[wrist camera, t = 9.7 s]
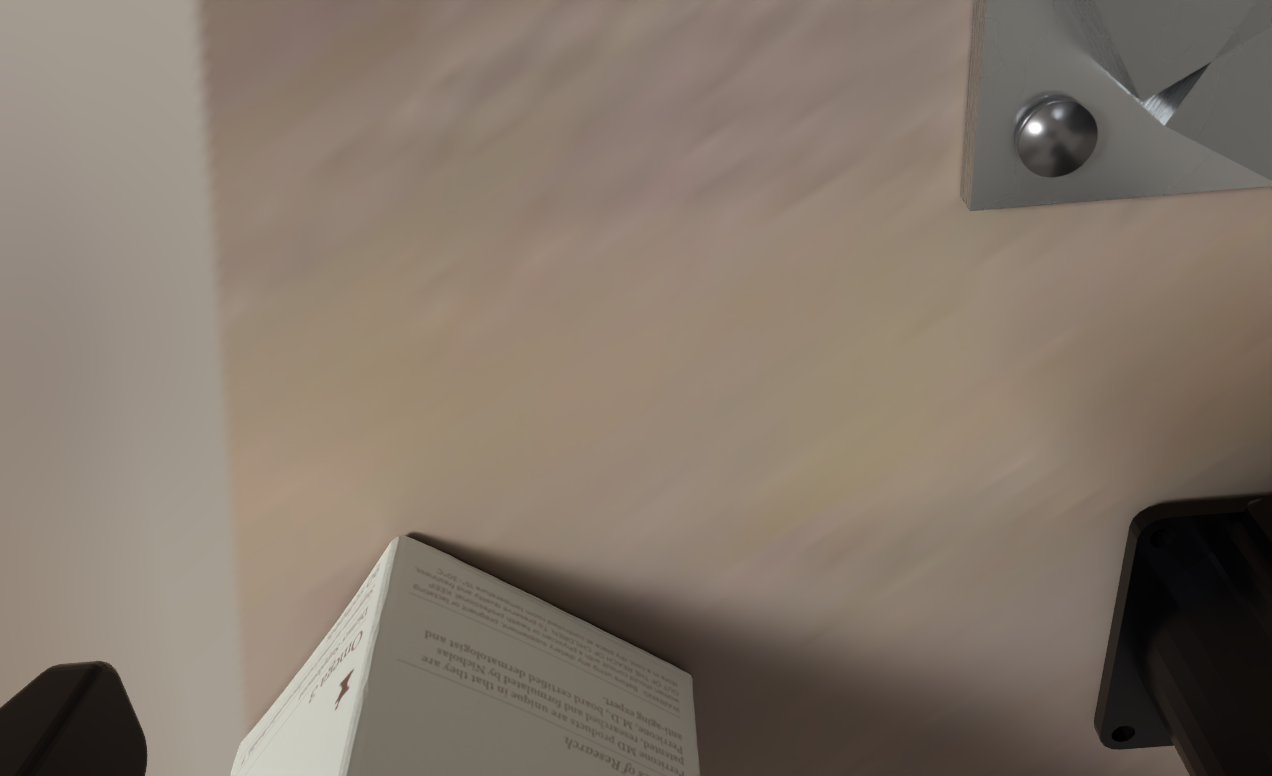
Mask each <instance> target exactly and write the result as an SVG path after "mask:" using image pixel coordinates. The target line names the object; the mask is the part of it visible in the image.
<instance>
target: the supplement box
mask: <svg viewBox="0 0 1272 776" xmlns="http://www.w3.org/2000/svg"><path fill="white" fill-rule="evenodd" d="M230 776H700V766H699V756H698V744H697V732H696V721H695V709H694V698H693V679H692V677H691V675H690V674H688V673H687V672H685V671H682V670H681V669H679V668H677V667H675V666H674V665H672V664H670V663H668V662H665V661H663V660H661V659H659V658H657V657H655V656H653V655H652V654H650V653H648V652H646V651H644V650H642V649H640V648H637V647H635V646H633V645H631V644H630V643H628V642H625V641H623V640H621V639H619V638H617V637H615V636H613V635H611V634H609V633H607V632H604V631H603V630H601V629H599V628H597V627H595V626H593V625H591V624H589V623H587V622H585V621H583V620H581V619H579V618H577V617H575V616H572V615H570V614H568V613H566V612H564V611H562V610H560V609H558V608H556V607H554V606H552V605H550V604H549V603H547V602H545V601H543V600H541V599H539V598H537V597H535V596H533V595H531V594H528V593H526V592H524V591H522V590H520V589H518V588H516V587H514V586H511V585H509V584H507V583H505V582H503V581H501V580H499V579H497V578H495V577H493V576H491V575H489V574H487V573H485V572H483V571H481V570H479V569H477V568H474V567H472V566H470V565H468V564H466V563H464V562H462V561H460V560H458V559H456V558H454V557H453V556H451V555H449V554H446V553H444V552H441V551H439V550H437V549H436V548H434V547H431V546H429V545H426V544H424V543H421V542H419V541H417V540H415V539H412V538H410V537H407V536H398V537H396V538H395V539H393V540H392V541H391V543H390V544H389V546H388V547H387V549H386V550H385V552H384V553H383V555H382V556H381V558H380V559H379V561H378V562H377V564H376V565H375V567H374V568H373V570H372V571H371V573H370V575H369V576H368V577H367V579H366V580H365V582H364V583H363V585H362V586H361V588H360V589H359V591H358V592H357V594H356V595H355V597H354V598H353V599H352V601H351V602H350V604H349V605H348V607H347V608H346V609H345V611H344V612H343V614H342V615H341V616H340V618H339V619H338V621H337V622H336V623H335V625H334V626H333V627H332V629H331V630H330V631H329V633H328V634H327V635H326V637H325V638H324V639H323V641H322V642H321V643H320V645H319V646H318V647H317V649H316V650H315V651H314V653H313V654H312V655H311V657H310V658H309V659H308V661H307V662H306V663H305V665H304V666H303V667H302V668H301V670H300V671H299V672H298V673H297V674H296V676H295V677H294V678H293V680H292V681H291V682H290V684H289V685H288V686H287V688H286V689H285V690H284V691H283V693H282V694H281V695H280V696H279V698H278V699H277V700H276V701H275V703H274V704H273V705H272V706H271V708H270V709H269V710H268V711H267V713H266V714H265V715H264V716H263V717H262V719H261V720H260V721H259V722H258V723H257V725H256V726H255V727H254V728H253V729H252V731H251V732H250V733H249V734H248V735H247V736H246V737H245V739H244V740H243V741H242V743H241V744H240V746H239V749H238V752H237V755H236V758H235V761H234V764H233V768H232V771H231V774H230Z"/></svg>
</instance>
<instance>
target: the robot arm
mask: <svg viewBox="0 0 1272 776" xmlns="http://www.w3.org/2000/svg"><path fill="white" fill-rule="evenodd" d="M1165 527H1166V529H1165V530H1164V531H1162V532H1161V533H1159V534H1155V535H1152V534H1153V533H1154V532H1155V531H1157V530H1158V529H1161V528H1165ZM1094 727H1095V730H1096V732H1097V734H1098V736H1099V738H1100V741H1101V742H1102V743H1103V745H1104V746H1106V747H1108V748H1111V749H1133V748H1146V747H1159V746H1173V745H1174V746H1175V748H1176V750H1177V752H1178V754H1179V755H1180V757H1181V759H1182V761H1183V763H1184V765H1185V767H1186V769H1187V771H1188V773H1189V775H1190V776H1272V496H1263V497H1251V498H1238V499H1225V500H1213V501H1200V502H1187V503H1175V504H1162V505H1156V506H1151V507H1148V508H1146V509H1144V510H1142V511H1141V512H1139V513H1138V514H1137V515H1136V516H1135V517H1134V518H1133V520H1132V522H1131V524H1130V527H1129V532H1128V537H1127V543H1126V548H1125V554H1124V559H1123V565H1122V570H1121V576H1120V581H1119V587H1118V592H1117V597H1116V603H1115V608H1114V614H1113V619H1112V625H1111V630H1110V636H1109V641H1108V647H1107V652H1106V658H1105V663H1104V669H1103V674H1102V679H1101V685H1100V690H1099V696H1098V701H1097V707H1096V712H1095V718H1094ZM146 767H147V745H146V740H145V736H144V733H143V730H142V728H141V726H140V723H139V721H138V718H137V716H136V714H135V711H134V709H133V707H132V704H131V702H130V700H129V697H128V695H127V693H126V690H125V688H124V686H123V683H122V681H121V679H120V677H119V675H118V673H117V671H116V669H115V668H114V667H112V665H110V664H109V663H107V662H102V661H95V662H94V661H93V662H82V663H68V664H59V665H55V666H52V667H50V668H48V669H47V670H45V671H44V672H42V673H41V674H40V675H39V676H37V677H36V678H35V679H34V680H33V681H31V682H30V683H29V684H28V685H27V686H26V687H24V688H23V689H22V690H21V691H20V692H19V693H17V694H16V695H15V696H14V697H12V698H11V699H10V700H9V701H8V702H7V703H5V704H4V705H3V706H2V707H1V708H0V776H145V772H146Z"/></svg>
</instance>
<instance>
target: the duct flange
mask: <svg viewBox="0 0 1272 776" xmlns="http://www.w3.org/2000/svg"><path fill="white" fill-rule="evenodd" d="M1268 186H1272V0H975V3H974V17H973V30H972V44H971V58H970V71H969V85H968V99H967V112H966V126H965V140H964V153H963V167H962V181H961V194H960V196H961V198H962V200H963V201H964V203H965V204H966V206H967V207H968V209H969V210H970V211H977V210H989V209H1001V208H1013V207H1025V206H1038V205H1050V204H1062V203H1074V202H1086V201H1098V200H1110V199H1122V198H1135V197H1147V196H1159V195H1171V194H1183V193H1195V192H1207V191H1219V190H1232V189H1244V188H1256V187H1268Z"/></svg>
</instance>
